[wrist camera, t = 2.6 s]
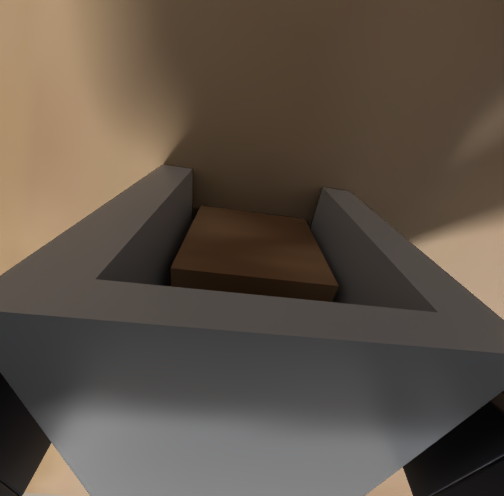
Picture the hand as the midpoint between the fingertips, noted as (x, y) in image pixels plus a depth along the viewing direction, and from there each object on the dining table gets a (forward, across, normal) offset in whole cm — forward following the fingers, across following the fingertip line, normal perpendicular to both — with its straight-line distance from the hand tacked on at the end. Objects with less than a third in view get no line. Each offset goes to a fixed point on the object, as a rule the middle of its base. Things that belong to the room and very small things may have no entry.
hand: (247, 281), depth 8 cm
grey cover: (+2, 0, 0) cm, 2 cm away
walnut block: (+2, 0, 0) cm, 2 cm away
